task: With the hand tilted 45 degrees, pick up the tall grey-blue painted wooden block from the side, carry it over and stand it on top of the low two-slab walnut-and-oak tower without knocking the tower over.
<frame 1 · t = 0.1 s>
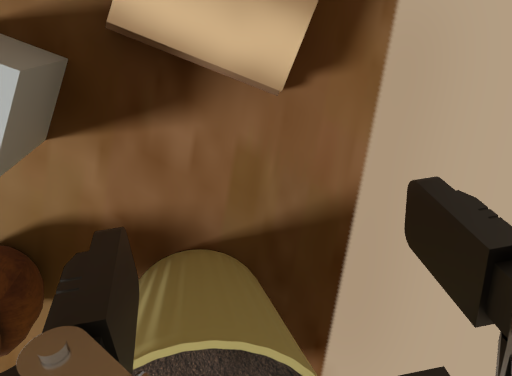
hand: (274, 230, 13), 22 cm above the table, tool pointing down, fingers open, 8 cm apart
wooden figurine: (9, 270, 36), on the table
potted cactus: (197, 306, 39), on the table
block: (11, 84, 31), on the table
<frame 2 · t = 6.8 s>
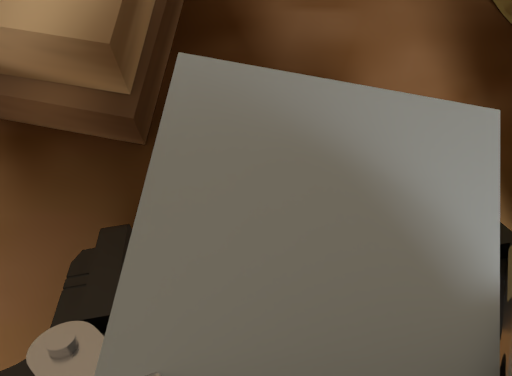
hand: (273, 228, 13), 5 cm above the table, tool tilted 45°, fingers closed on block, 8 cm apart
block: (268, 293, 17), on the table, touching gripper
tower base: (50, 8, 21), on the table, touching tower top
when the fingers open (12 cm above the table, at t = 14.4 s): block drops 2 cm, resting on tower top.
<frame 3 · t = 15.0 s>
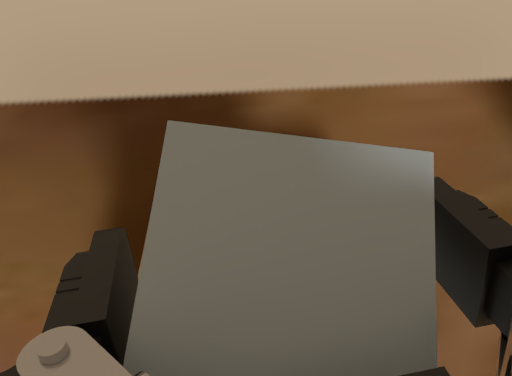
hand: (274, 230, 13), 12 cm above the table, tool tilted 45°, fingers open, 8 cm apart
block: (258, 303, 19), point 5 cm above the table, touching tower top
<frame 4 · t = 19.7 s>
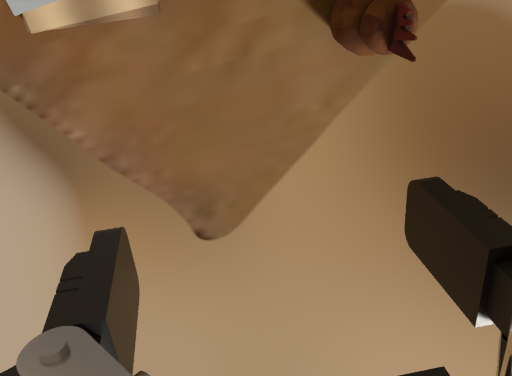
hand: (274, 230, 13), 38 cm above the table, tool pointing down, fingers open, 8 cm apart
wooden figurine: (350, 12, 48), on the table
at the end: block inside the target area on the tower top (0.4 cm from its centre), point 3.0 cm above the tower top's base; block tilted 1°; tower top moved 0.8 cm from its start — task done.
